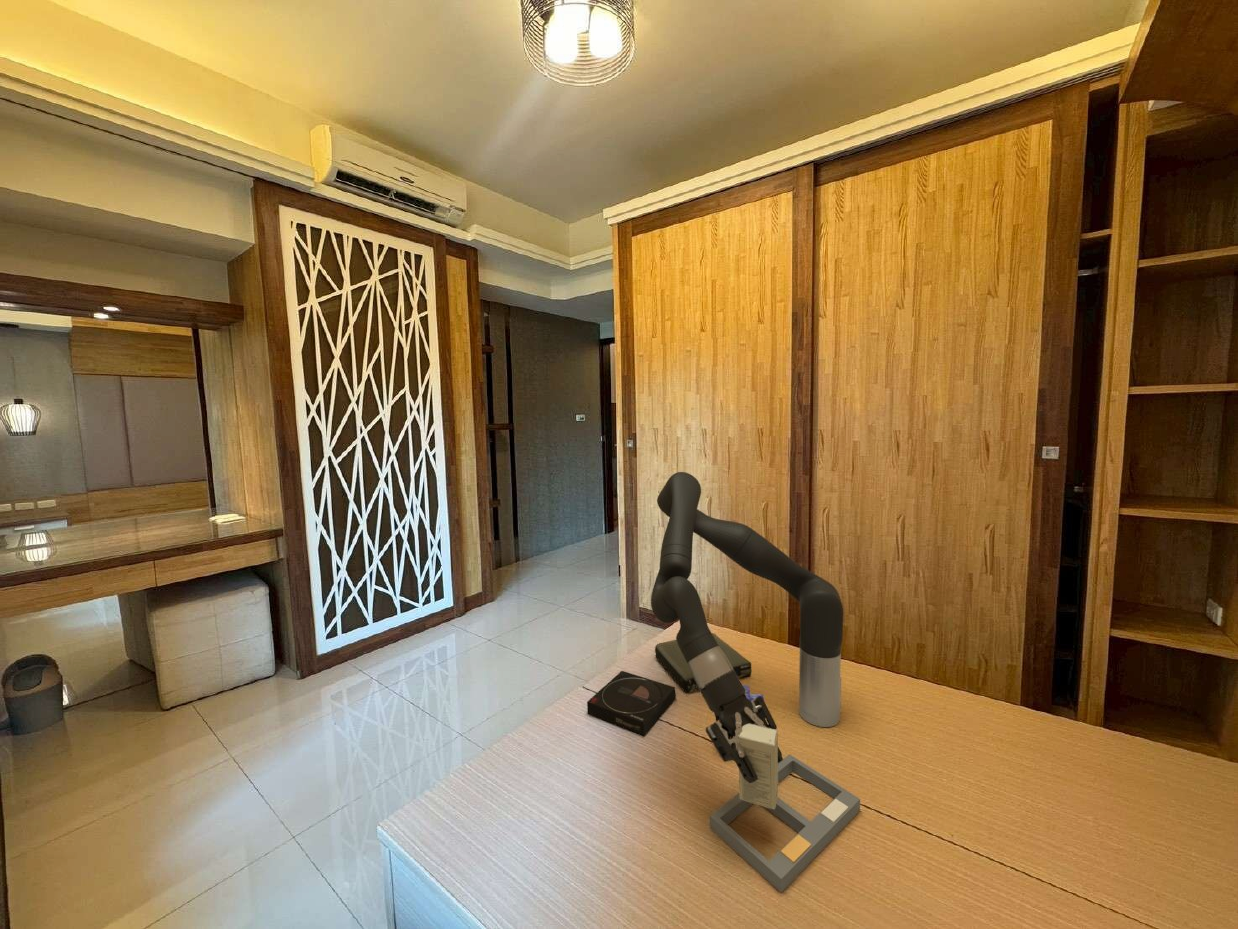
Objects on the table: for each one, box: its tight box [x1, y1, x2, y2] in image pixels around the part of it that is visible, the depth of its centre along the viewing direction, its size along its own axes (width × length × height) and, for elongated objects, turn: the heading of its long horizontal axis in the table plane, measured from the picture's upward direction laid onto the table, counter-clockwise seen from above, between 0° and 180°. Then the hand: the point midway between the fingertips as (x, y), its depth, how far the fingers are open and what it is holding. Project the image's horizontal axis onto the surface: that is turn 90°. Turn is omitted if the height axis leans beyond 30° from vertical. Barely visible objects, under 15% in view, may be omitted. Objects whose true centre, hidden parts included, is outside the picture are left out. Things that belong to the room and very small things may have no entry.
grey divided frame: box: [709, 753, 861, 894], centre depth 88 cm, size 24×15×3 cm, turn 126°
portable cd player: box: [586, 670, 677, 738], centre depth 123 cm, size 16×17×4 cm
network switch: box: [654, 632, 752, 694], centre depth 140 cm, size 23×23×5 cm
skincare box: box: [738, 724, 779, 809], centre depth 84 cm, size 6×4×12 cm
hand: (766, 771), depth 82 cm, fingers closed on skincare box, 6 cm apart
